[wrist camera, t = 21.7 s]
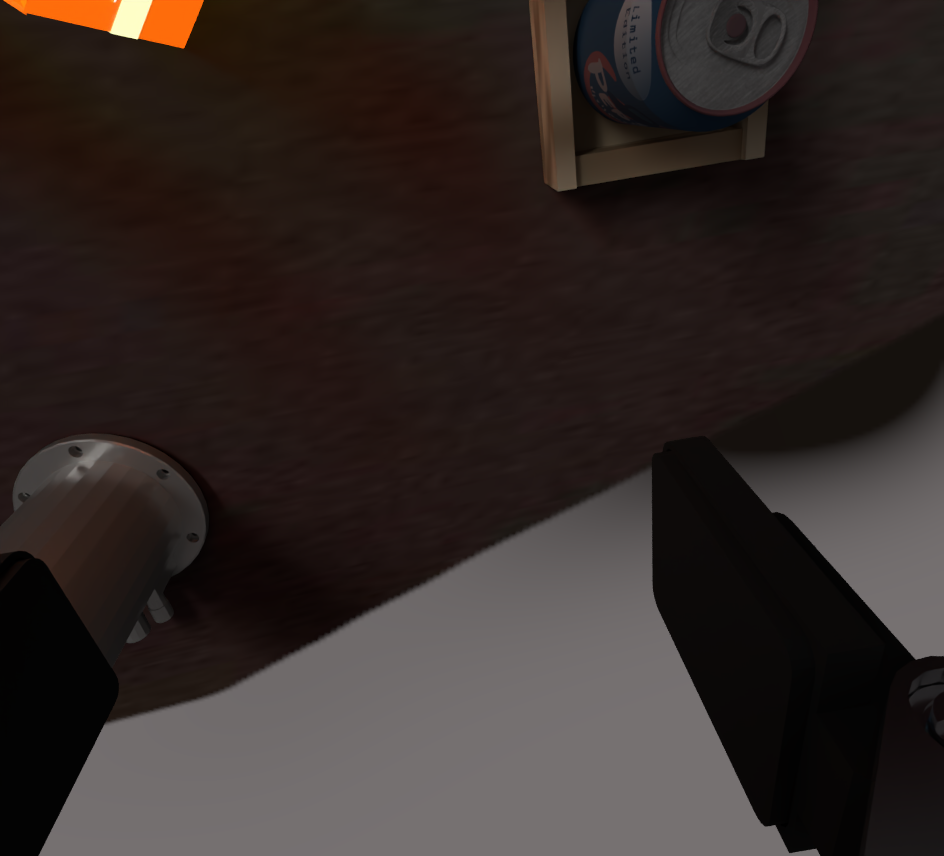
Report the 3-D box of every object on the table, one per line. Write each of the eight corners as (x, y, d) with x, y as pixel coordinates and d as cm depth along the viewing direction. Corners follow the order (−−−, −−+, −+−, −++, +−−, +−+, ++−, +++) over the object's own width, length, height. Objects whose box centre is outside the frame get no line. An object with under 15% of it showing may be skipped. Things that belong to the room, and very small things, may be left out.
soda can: (549, 102, 33) (611, 102, 22) (595, -54, 30) (692, -138, 19) (664, 139, 34) (775, 157, 24) (720, -5, 31) (876, -60, 21)
